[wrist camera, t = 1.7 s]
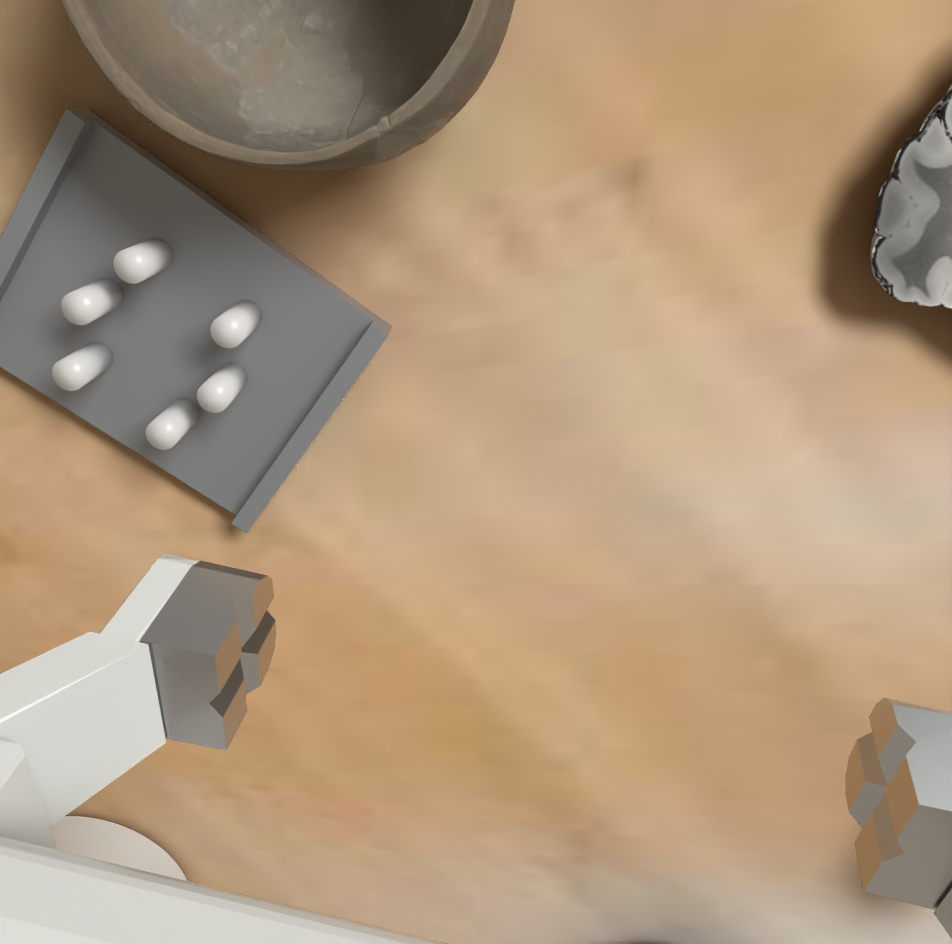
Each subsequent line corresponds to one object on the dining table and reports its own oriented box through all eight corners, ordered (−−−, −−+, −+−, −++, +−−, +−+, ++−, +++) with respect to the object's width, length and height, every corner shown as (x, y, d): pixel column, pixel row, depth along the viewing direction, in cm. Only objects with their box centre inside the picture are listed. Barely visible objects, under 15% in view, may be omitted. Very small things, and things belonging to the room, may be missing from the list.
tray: (256, 515, 51) (234, 554, 47) (-30, 334, 47) (-84, 358, 43) (391, 326, 46) (380, 349, 42) (86, 108, 43) (39, 109, 38)
